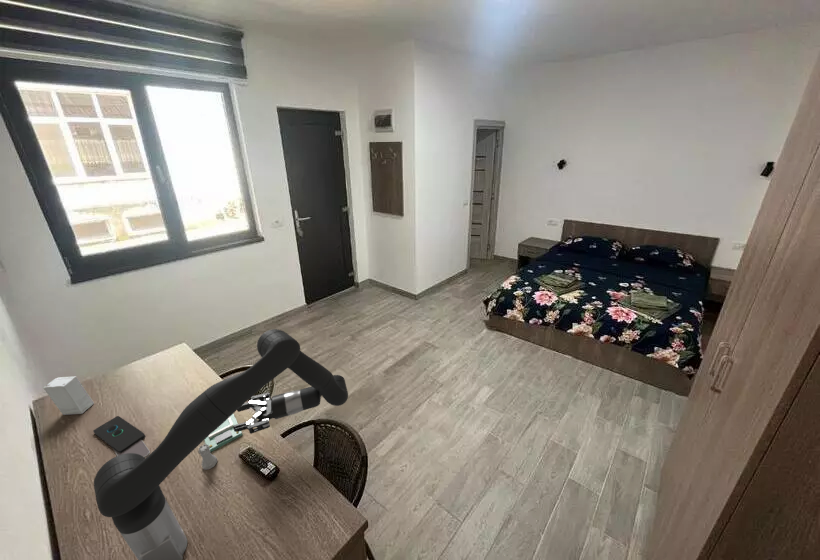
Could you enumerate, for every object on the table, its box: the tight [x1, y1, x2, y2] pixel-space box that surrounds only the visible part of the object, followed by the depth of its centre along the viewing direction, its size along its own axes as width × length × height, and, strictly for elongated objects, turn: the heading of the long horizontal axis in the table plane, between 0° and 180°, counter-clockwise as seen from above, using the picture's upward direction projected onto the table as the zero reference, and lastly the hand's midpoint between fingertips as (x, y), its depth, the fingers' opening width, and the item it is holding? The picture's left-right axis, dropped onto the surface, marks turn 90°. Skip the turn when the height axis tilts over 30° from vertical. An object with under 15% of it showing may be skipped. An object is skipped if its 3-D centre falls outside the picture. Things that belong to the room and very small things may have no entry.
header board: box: [204, 413, 243, 453], centre depth 119 cm, size 18×11×2 cm, turn 40°
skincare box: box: [43, 375, 95, 416], centre depth 127 cm, size 8×6×15 cm
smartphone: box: [112, 439, 151, 458], centre depth 113 cm, size 7×1×15 cm
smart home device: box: [93, 415, 146, 453], centre depth 118 cm, size 8×2×20 cm
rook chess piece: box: [197, 443, 218, 470], centre depth 105 cm, size 4×4×8 cm
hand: (235, 418), depth 104 cm, fingers open, 8 cm apart
